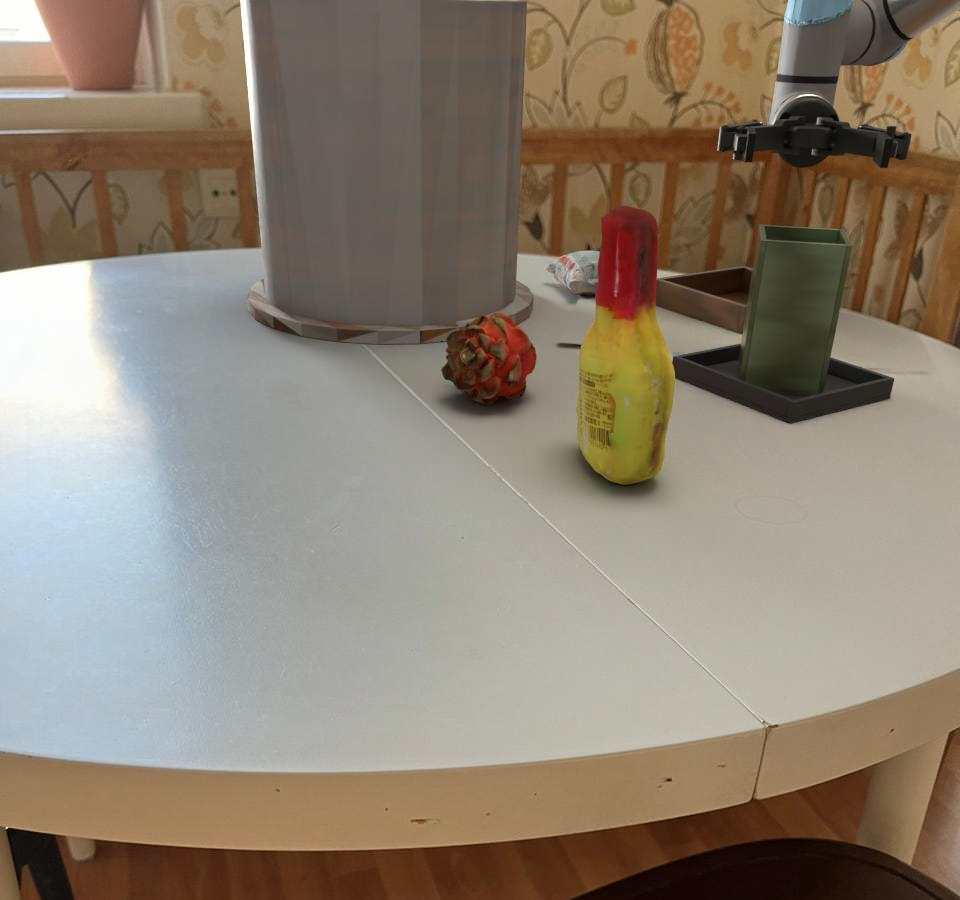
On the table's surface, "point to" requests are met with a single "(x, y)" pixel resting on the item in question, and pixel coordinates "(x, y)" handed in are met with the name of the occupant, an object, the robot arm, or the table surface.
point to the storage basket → (386, 165)
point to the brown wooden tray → (708, 296)
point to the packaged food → (577, 271)
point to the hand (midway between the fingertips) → (817, 150)
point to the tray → (840, 393)
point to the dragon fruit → (489, 359)
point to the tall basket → (793, 308)
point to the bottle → (625, 356)
